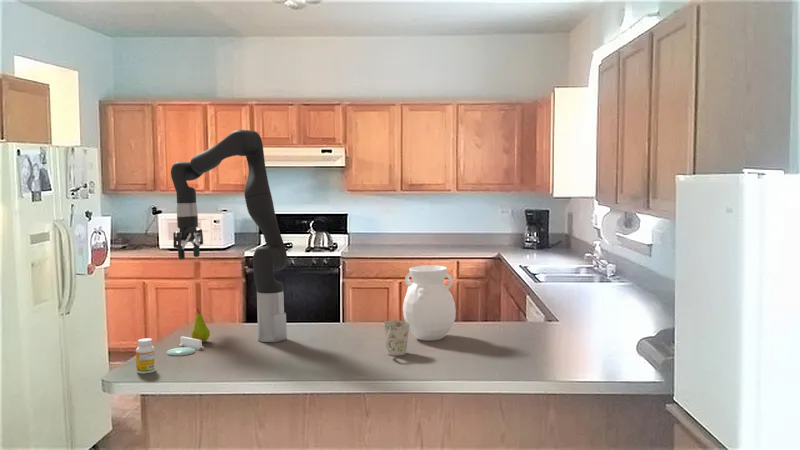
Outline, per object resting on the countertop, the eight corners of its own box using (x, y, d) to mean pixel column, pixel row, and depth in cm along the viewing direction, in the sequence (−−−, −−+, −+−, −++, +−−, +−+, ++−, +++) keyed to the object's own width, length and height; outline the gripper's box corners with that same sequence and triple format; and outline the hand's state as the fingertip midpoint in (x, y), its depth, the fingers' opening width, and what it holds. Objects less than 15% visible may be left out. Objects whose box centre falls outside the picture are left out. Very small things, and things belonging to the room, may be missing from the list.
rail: (203, 348, 255) (203, 339, 255) (197, 349, 253) (197, 341, 253) (184, 344, 261) (184, 336, 261) (179, 345, 259) (178, 337, 259)
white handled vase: (395, 341, 262) (394, 270, 260) (414, 330, 279) (413, 263, 277) (446, 345, 255) (445, 272, 253) (462, 334, 272) (462, 265, 270)
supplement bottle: (139, 369, 230) (138, 337, 229) (157, 368, 231) (156, 337, 230) (134, 374, 225) (133, 342, 224) (153, 373, 225) (151, 341, 225)
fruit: (213, 342, 264) (212, 308, 263) (198, 345, 260) (196, 311, 259) (203, 339, 269) (202, 306, 268) (188, 342, 264) (186, 308, 263)
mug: (412, 351, 248) (412, 321, 247) (400, 360, 236) (400, 329, 235) (389, 349, 251) (388, 319, 250) (375, 358, 239) (375, 327, 238)
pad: (200, 351, 251) (200, 349, 251) (178, 357, 244) (178, 355, 244) (183, 347, 256) (183, 346, 256) (161, 353, 249) (161, 351, 249)
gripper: (182, 216, 276) (184, 260, 278) (207, 213, 289) (209, 255, 291) (166, 216, 279) (168, 259, 281) (191, 213, 292) (193, 255, 294)
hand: (189, 257), depth 286 cm, fingers open, 8 cm apart
